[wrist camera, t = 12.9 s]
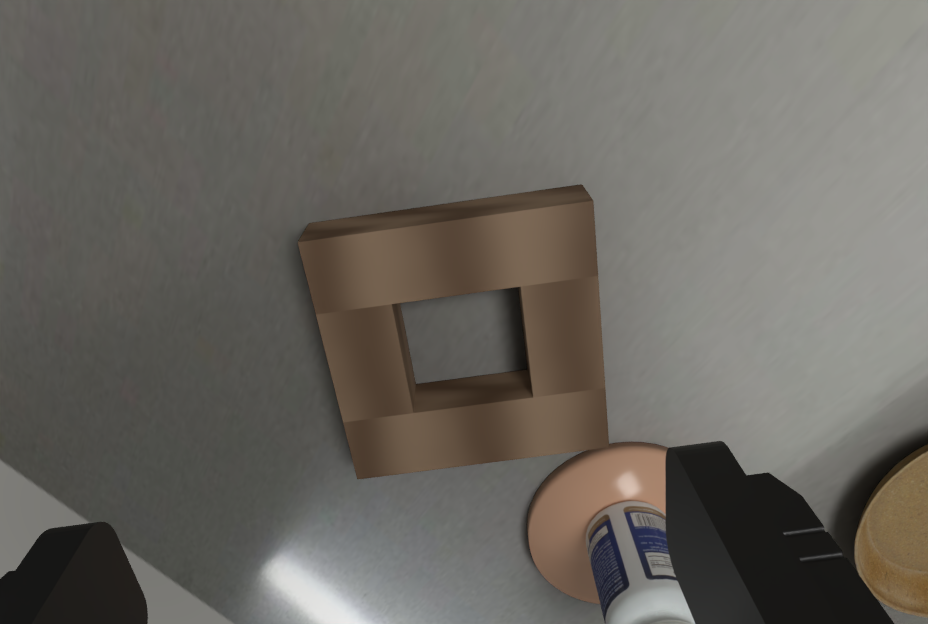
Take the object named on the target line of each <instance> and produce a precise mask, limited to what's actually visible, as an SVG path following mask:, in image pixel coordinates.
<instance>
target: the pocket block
mask: <svg viewBox="0 0 928 624" xmlns="http://www.w3.org/2000/svg"><path fill="white" fill-rule="evenodd" d="M298 246H299V250H300V254H301V258H302V262H303V266H304V270H305V274H306V277H307V281H308V285H309V289H310V293H311V297H312V301H313V305H314V309H315V313H316V317H317V321H318V325H319V329H320V333H321V337H322V341H323V345H324V349H325V353H326V357H327V361H328V365H329V369H330V372H331V376H332V380H333V384H334V388H335V392H336V396H337V400H338V404H339V408H340V412H341V416H342V420H343V424H344V428H345V432H346V436H347V440H348V444H349V448H350V452H351V456H352V460H353V463H354V467H355V471H356V475H357V479H364V478H372V477H380V476H388V475H396V474H404V473H412V472H419V471H427V470H435V469H443V468H451V467H459V466H466V465H474V464H482V463H490V462H498V461H506V460H514V459H521V458H529V457H537V456H545V455H553V454H561V453H568V452H576V451H584V450H592V449H600V448H608V447H609V439H608V423H607V408H606V392H605V376H604V361H603V345H602V330H601V314H600V298H599V283H598V267H597V252H596V236H595V220H594V205H593V200H592V198H591V197H590V195H589V194H588V192H587V191H586V190H585V188H584V187H583V185H575V186H567V187H560V188H553V189H546V190H539V191H532V192H525V193H518V194H511V195H504V196H497V197H490V198H483V199H476V200H469V201H462V202H455V203H448V204H441V205H434V206H427V207H420V208H413V209H406V210H399V211H392V212H385V213H378V214H371V215H364V216H357V217H350V218H343V219H336V220H329V221H322V222H315V223H309V224H308V226H307V228H306V229H305V231H304V233H303V234H302V236H301V238H300V239H299V241H298ZM514 287H518V293H519V302H520V310H521V319H522V327H523V336H524V344H525V353H526V361H527V370H520V371H513V372H505V373H498V374H490V375H482V376H475V377H467V378H460V379H452V380H445V381H437V382H430V383H422V384H416V382H415V377H414V372H413V367H412V362H411V357H410V352H409V347H408V342H407V336H406V331H405V326H404V321H403V316H402V311H401V306H400V303H404V302H412V301H419V300H426V299H433V298H441V297H448V296H455V295H463V294H470V293H477V292H484V291H492V290H499V289H506V288H514Z"/></svg>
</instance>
